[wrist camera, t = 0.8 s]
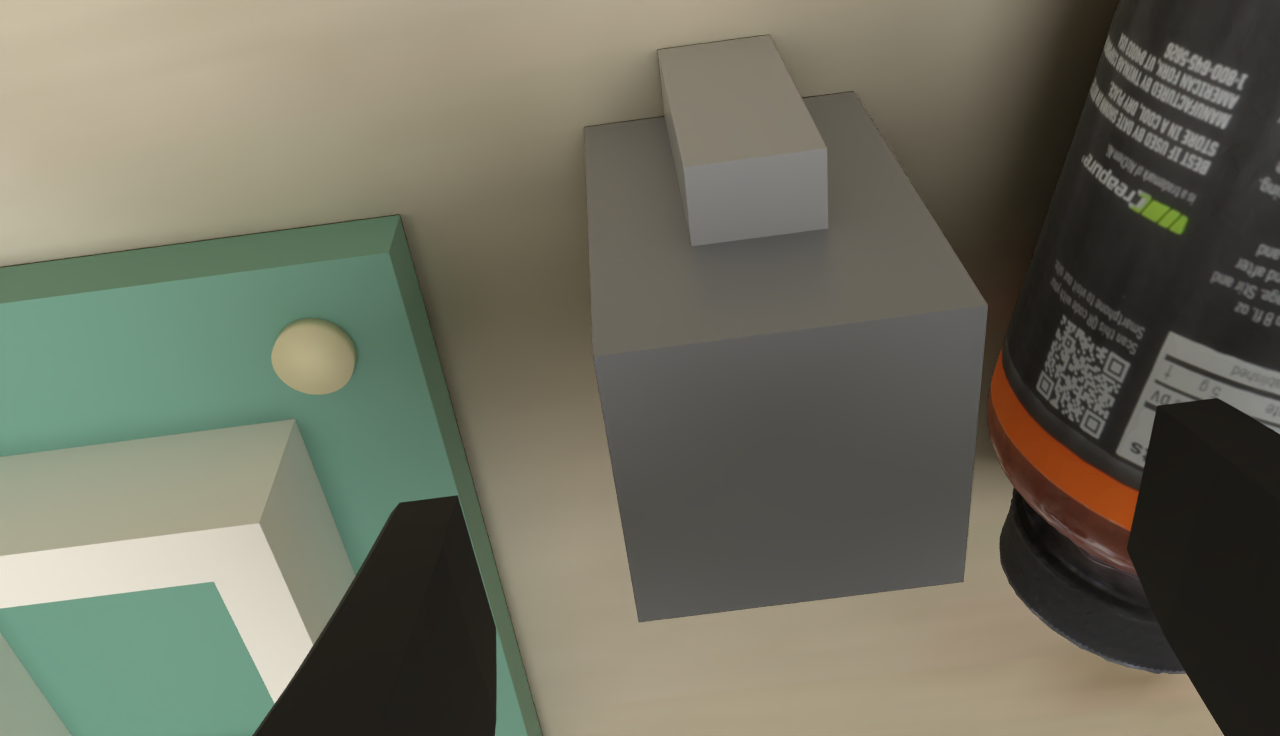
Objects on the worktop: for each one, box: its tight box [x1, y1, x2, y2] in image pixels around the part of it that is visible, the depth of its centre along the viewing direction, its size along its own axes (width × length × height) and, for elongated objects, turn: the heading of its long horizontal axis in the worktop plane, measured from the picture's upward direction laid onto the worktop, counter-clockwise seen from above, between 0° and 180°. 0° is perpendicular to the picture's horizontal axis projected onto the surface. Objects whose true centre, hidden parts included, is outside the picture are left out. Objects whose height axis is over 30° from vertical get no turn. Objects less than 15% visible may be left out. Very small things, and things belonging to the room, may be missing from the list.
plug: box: [584, 35, 988, 622], centre depth 14 cm, size 5×4×6 cm
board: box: [0, 215, 542, 736], centre depth 19 cm, size 14×12×2 cm
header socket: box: [0, 419, 355, 736], centre depth 18 cm, size 9×8×2 cm
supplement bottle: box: [987, 0, 1280, 674], centre depth 14 cm, size 6×6×11 cm
